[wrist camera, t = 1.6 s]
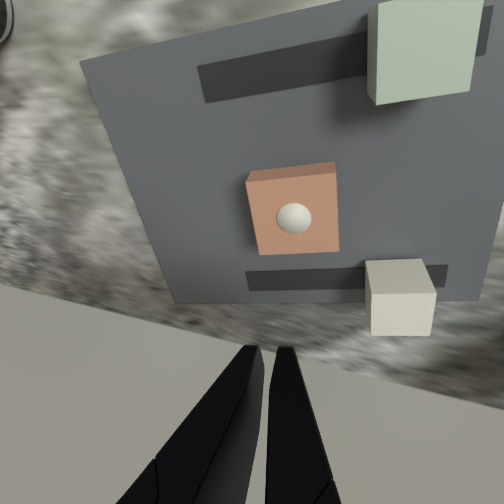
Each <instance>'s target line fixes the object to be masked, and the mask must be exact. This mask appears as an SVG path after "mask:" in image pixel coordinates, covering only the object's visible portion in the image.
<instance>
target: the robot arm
mask: <svg viewBox="0 0 504 504" xmlns="http://www.w3.org/2000/svg"><path fill="white" fill-rule="evenodd" d="M263 383H264V362H263V358H262V354H261V350H260V347H259V346H258V345H244V346H243V347H242V348H241V349H240V351H239V352H238V353H237V354H236V356H235V357H234V358H233V359H232V361H231V362H230V363H229V365H228V366H227V367H226V368H225V369H224V371H223V372H222V373H221V374H220V376H219V377H218V378H217V379H216V381H215V382H214V383H213V384H212V386H211V387H210V388H209V389H208V391H207V392H206V393H205V394H204V396H203V397H202V398H201V400H200V401H199V402H198V403H197V404H196V406H195V407H194V408H193V410H192V411H191V412H190V413H189V415H188V416H187V417H186V418H185V420H184V421H183V422H182V423H181V425H180V426H179V427H178V428H177V430H176V431H175V432H174V433H173V435H172V436H171V437H170V439H169V440H168V441H167V442H166V443H165V445H164V446H163V447H162V448H161V450H160V451H159V452H158V454H157V455H156V456H155V459H152V461H151V462H150V463H149V464H148V466H147V467H146V468H145V469H144V471H143V472H142V473H141V474H140V476H139V477H138V478H137V479H136V480H135V482H134V483H133V484H132V485H131V486H130V488H129V489H128V490H127V491H126V493H125V494H124V495H123V496H122V497H121V498H120V499H119V500H118V502H117V503H116V504H245V502H246V497H247V491H248V487H249V481H250V476H251V471H252V466H253V461H254V456H255V451H256V446H257V440H258V435H259V429H260V419H261V408H262V395H263ZM265 504H341V501H340V497H339V494H338V491H337V488H336V485H335V481H334V480H333V475H332V472H331V468H330V465H329V462H328V458H327V455H326V452H325V449H324V445H323V442H322V439H321V435H320V432H319V429H318V425H317V422H316V419H315V416H314V412H313V409H312V406H311V402H310V399H309V396H308V393H307V389H306V386H305V383H304V379H303V376H302V373H301V369H300V366H299V363H298V359H297V356H296V353H295V349H294V347H293V346H279V347H278V349H277V353H276V358H275V363H274V368H273V372H272V377H271V383H270V388H269V408H268V434H267V461H266V488H265Z"/></svg>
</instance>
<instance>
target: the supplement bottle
mask: <svg viewBox="0 0 504 504" xmlns="http://www.w3.org/2000/svg"><path fill="white" fill-rule="evenodd" d="M11 26H12V6H11V1H10V0H0V43H1V42H2V41H3V40H4V39H5V38H6V37H7V36H8V34H9V32H10V29H11Z"/></svg>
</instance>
